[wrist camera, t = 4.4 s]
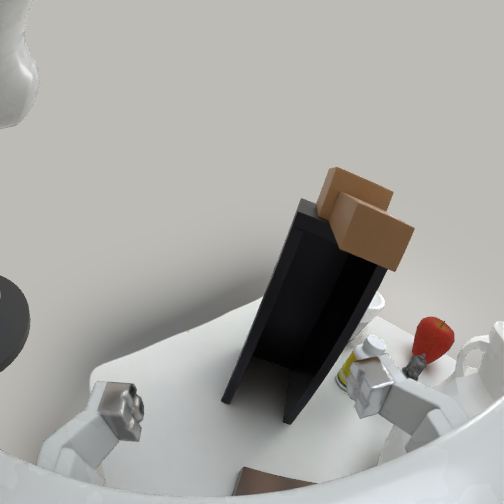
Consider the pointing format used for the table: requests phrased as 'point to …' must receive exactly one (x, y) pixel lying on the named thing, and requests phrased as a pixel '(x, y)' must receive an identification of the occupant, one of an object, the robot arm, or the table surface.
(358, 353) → the supplement bottle
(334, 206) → the brown stepped block
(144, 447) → the table surface
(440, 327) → the apple
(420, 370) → the dark grey tall piece
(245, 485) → the board
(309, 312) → the tall black box
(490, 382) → the pitcher
